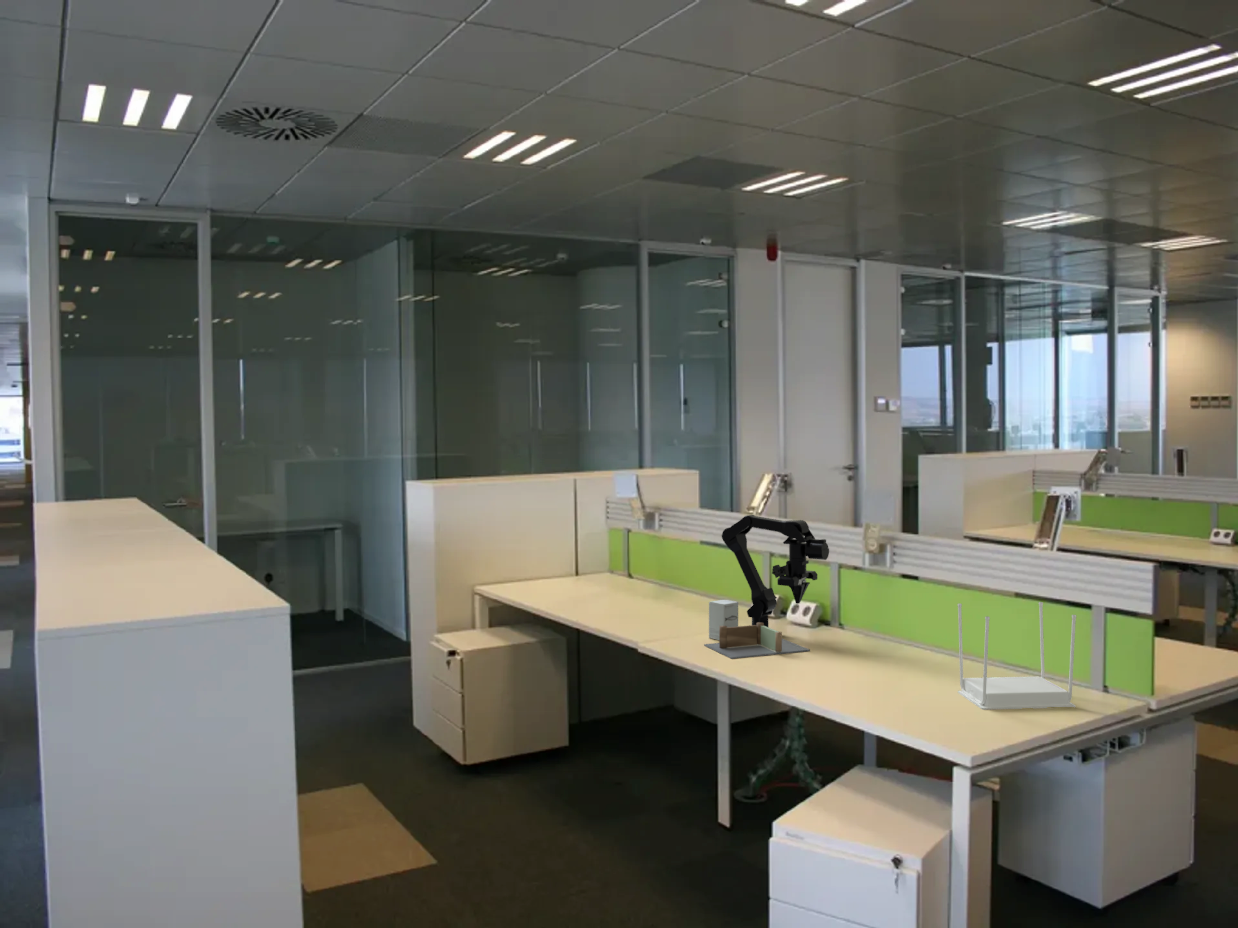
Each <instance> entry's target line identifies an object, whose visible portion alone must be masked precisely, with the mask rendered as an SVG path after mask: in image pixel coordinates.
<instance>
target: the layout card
mask: <svg viewBox="0 0 1238 928" xmlns="http://www.w3.org/2000/svg"><path fill="white" fill-rule="evenodd" d="M703 645H704V647H706V648H708V649H711V650H712V651H715V652H716V653H719V654H721V655H722V656H724V657H727V658H729V659H731V660H733V659H745V658H754V657H763V656H774V655H784V654H793V653H804V652H810V651H811V649H809V648H806V647H804V646H802V645H799V644H797V643H794V642H792V641H790V640H787V639H785V638H782V651H781V652H777V651H775V650H773V649H771V648H769V647H766V646H764V645H758V644H757V645H748V646H738V647H727V648H724V649H722V648H719V642H716V643H715V642H714V643H712V642H711V643H704V644H703Z"/></svg>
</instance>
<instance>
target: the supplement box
mask: <svg viewBox="0 0 1238 928" xmlns="http://www.w3.org/2000/svg"><path fill="white" fill-rule="evenodd" d="M719 626H727V627H738V626H739V601H735V600H730V599H719V600H714V601H713V600H712V601H709V602H708V639H712V640H716V641H719Z"/></svg>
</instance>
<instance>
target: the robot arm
mask: <svg viewBox="0 0 1238 928" xmlns="http://www.w3.org/2000/svg"><path fill="white" fill-rule="evenodd" d="M753 528H754V529H755V528H756V529H761V530H767V531H773V532H775V533H776V532H778V533H780V534H782V535H783V536H785V537H787V538H786V539H785V540H784V541H783V542H782V544H784V545H788V546H789V547H788V554H789V555H788V556H789V557H788V558H789V559H788V560H786V562H785V565H782V566H781V565H780V564H775V565H773V566H772V569H771V571H772V572H771V574H772V575H774V577H775V579H776V578H777V585H778V586H784V587H786V586H787V587H789V588H790V591H791V592H792V595H793V599H794V602H795V604H796V605H798V604H801V601H802V600H803V597H804V595H805V594H806V593H805V592H806V591H807V589H808V587H809V585H811V582H808V581H807V579H808V580H812V581H816V580H818V573H817V571H815V570H808V569H807V565H808V564H809V560H822V561H826V560H827V559H829V555H830V548H829V545H828V543H827V539H825V538H821V539H819V538H818V539H816V538H815V536H814V535H813V533H812V531H811V530H810V528H809V525H808V523H807V522H806V521H805V520H804V519H803V520H801V519H799V520H797V519H795V520H794V519H793V520H781V519H776V518H769V517H763V516H757V515H754V514H749V515H744V516H743V517H742V518H741V519H739V520H738V521H736V522H735V523H734V524H733V525H731V526H730V527H726V528H725V529H723V531H722V534H721V540H722V541H723V542H724V544H725V546H726V547H727V548H728V549H729V550H730V551H731V552H732V553H733V554H734V556H735V558H736V560H737V562H738V565H739V567H740V569H741V571H742V573H743V575H744V577H745V580H746V582H747V584H748V587H749V589H750V591H751V593H750V594H751V598H750V599H751V603H752V605H751V606H750V608H749V607H748V609H747V610H746V613H747V616H748V618H751V625H756V623H758V622H761V623H764V626H766V627H769V615H770V616H771V615H772V614H773V611H774V610H775V609H776V607H777V605H778V603H777V602H778V601H777V598H778V597H777V596H776V595H775V592H774V589H773V588H772V587H769V588H768V587H766V585H765V584H764V582H763V580H762V578H761V575H760V573H759V572H758V569H757V566H756V565H755V562H754V561H753V559H752V556H751V554H750V551H749V550H748V540H747V536H746V535H748V534H749V532H750V531H751V530H752V529H753ZM807 558H808V559H809V560H808V559H807Z"/></svg>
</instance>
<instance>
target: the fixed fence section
mask: <svg viewBox="0 0 1238 928" xmlns="http://www.w3.org/2000/svg"><path fill="white" fill-rule="evenodd" d="M761 626H764V623H761V622H758V623H756V625H752V624H751V625H738V627H727V626H719V640H718V641H719V642H718V643H719V648H722V649H724V648H727V647H738V646H748V645H757V644H758V645H762V644H761Z"/></svg>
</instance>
